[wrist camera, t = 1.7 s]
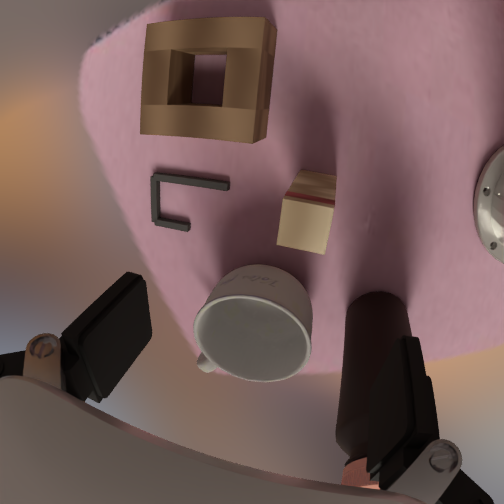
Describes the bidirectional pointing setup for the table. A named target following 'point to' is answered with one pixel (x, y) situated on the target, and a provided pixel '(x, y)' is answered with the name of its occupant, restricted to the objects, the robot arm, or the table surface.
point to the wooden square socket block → (181, 78)
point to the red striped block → (307, 212)
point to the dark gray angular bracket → (178, 180)
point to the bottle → (365, 374)
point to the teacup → (255, 325)
